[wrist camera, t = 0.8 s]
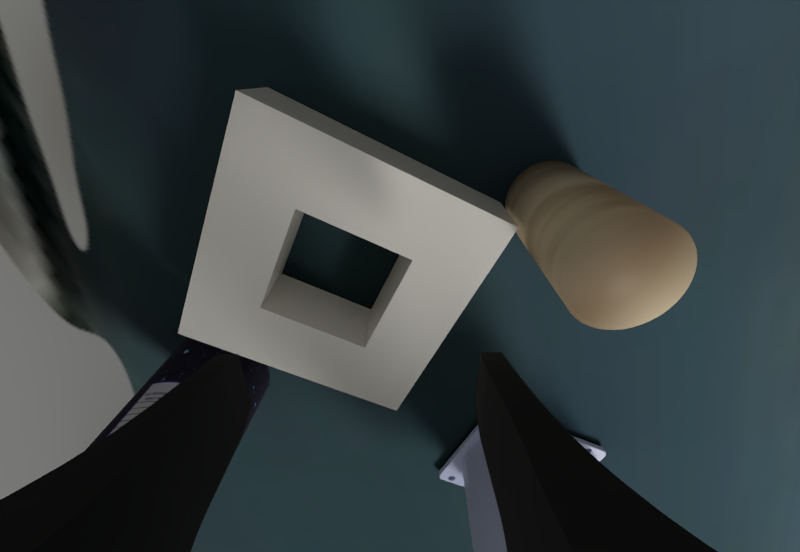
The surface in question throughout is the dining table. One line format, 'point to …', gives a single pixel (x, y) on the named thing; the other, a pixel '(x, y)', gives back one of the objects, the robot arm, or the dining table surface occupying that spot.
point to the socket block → (348, 210)
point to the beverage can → (179, 369)
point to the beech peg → (600, 246)
